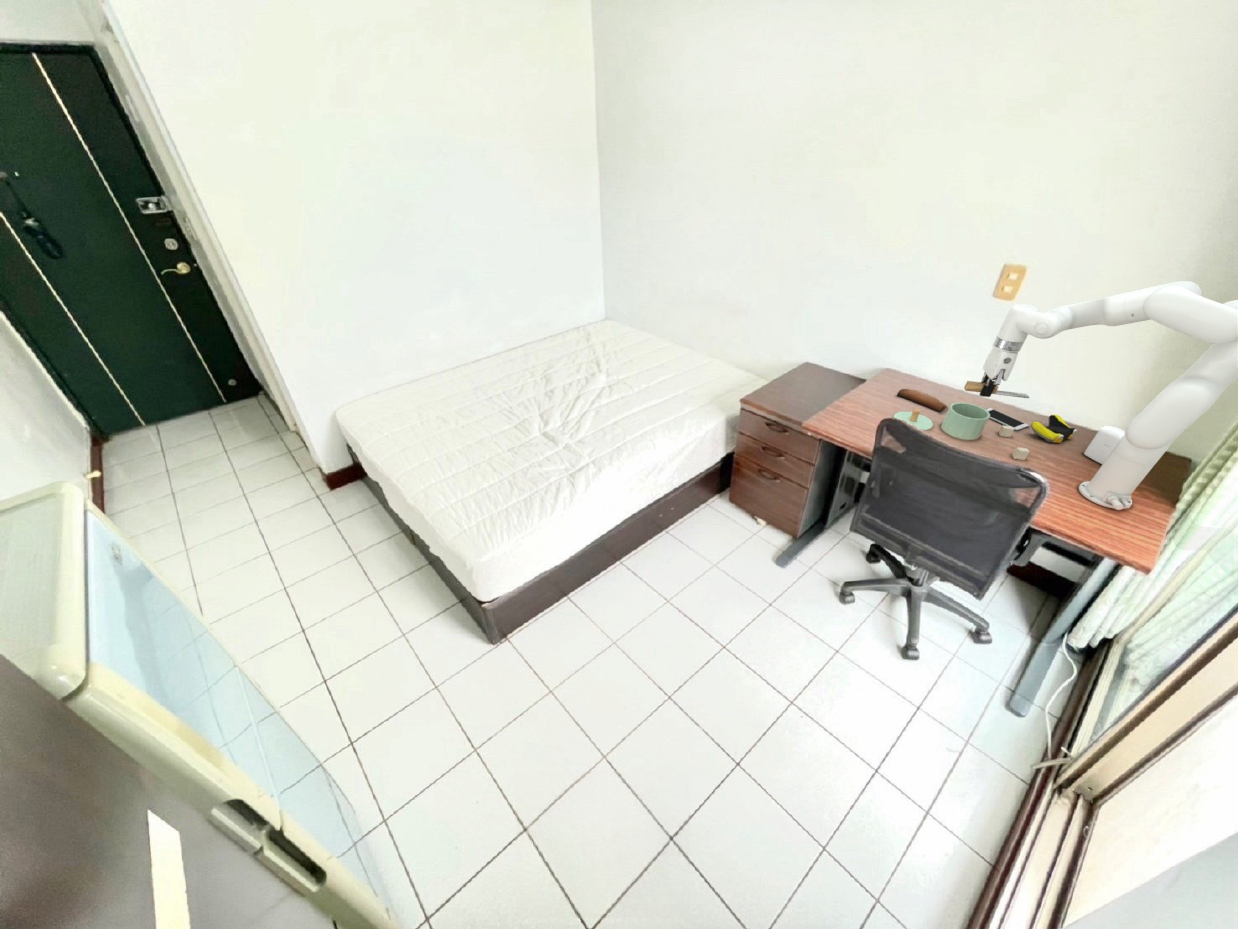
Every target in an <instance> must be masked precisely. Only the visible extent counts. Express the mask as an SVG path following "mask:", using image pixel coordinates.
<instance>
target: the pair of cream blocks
mask: <svg viewBox="0 0 1238 929" xmlns="http://www.w3.org/2000/svg"><path fill="white" fill-rule="evenodd" d="M1014 431H1015V430H1014V428H1013V427H1011V426H1005V425H1001V427H1000V429H999V432H998V435H999V437H1005V438H1011V436H1012V434H1013V433H1014ZM1029 454H1030V450H1029V448H1027V447H1026V448H1025V447H1019V446H1018V447H1016V448H1015V449H1014V451H1013V453H1012V455H1011V456H1012V457H1013V459H1014V460H1021V461H1025V460H1026V459H1027V457H1028V455H1029Z"/></svg>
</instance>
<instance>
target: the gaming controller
mask: <svg viewBox="0 0 1238 929" xmlns="http://www.w3.org/2000/svg"><path fill="white" fill-rule="evenodd" d="M1030 428H1031V430H1032V432H1034V434H1035V435H1037V436H1038V437H1041V438H1042V439H1044V441H1045V442H1047V443H1056V444H1057V443H1058V444H1061V443H1062V442H1065V441H1066V440H1070V439H1071V438H1072V436H1073V435H1074V433H1075V432H1077V431H1078V430H1077V429H1076V427H1075V428H1074V427H1071V426H1069V425H1068V424H1067V422H1066V421H1065V420H1064V419H1063V418H1062V417H1061V416H1060V415H1059V414H1050V415H1049V416H1048V426H1044V425H1043V424H1042V423H1041V422H1039V421H1032V422H1031V424H1030Z"/></svg>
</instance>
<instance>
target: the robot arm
mask: <svg viewBox="0 0 1238 929" xmlns="http://www.w3.org/2000/svg"><path fill="white" fill-rule="evenodd" d="M1202 295H1203V292H1202V289H1201V287H1200V286H1199V285H1198V284H1197V283H1196V282H1193V281H1190V280H1178V281H1177V280H1176V281H1172V282H1171V281H1170V282H1167V283H1163V284H1158V285H1154V286H1150V287H1145V288H1141V289H1136V290H1132V291H1127V292H1123V293H1117V294H1113V295H1107V296H1103V297H1100V298H1096V299H1095V298H1094V299H1090V300H1085V301H1080V302H1076V303H1070V304H1067V305H1062V306H1058V307H1055V308H1052V309H1049V310H1046V311H1042V312H1041V311H1040V309H1039V307H1037V306H1035V305H1033V304H1028V303H1016V304H1013V305H1012V306H1011V307H1010V308H1009V310H1008V312H1007V314H1006V316H1005V318H1004V320H1003V322H1002V324H1001V327H1000V329H999V330H998V333H997V335H996V337H995V339H994V342H993V344H992V348H991V350H990V352H989V353H988V355H987V357H986V358H985V361H984V363H983V366H982V370H983V371H984V373H983V376H982V378H981V381H980V382H982V383H986V385H984V386H983V388H982V390H981V392H979V397H985V398H990V397H991V396H992V395H993V394H992V392H993V390H994V388H995V387H996V386H997V385H998V386H1000V385H1001V382H1002V381H1004V382H1007V381H1008V379H1009V377H1010V375H1011V373H1012V370H1013V368H1014V365H1015V364H1016V361H1017V358H1018V355H1019V353H1020V351H1021V349H1023V348H1022V347H1023V346H1024V344H1025V342H1026V340H1027V338H1028V337H1029V336H1032V337H1034V338H1036V339H1041V340H1042V339H1043V340H1046V339H1051V338H1053V337H1055V336H1057V335H1058V334H1060V333H1062V332H1064V331H1068V330H1074V329H1078V328H1079V329H1080V328H1084V327H1090V326H1099V325H1101V326H1107V327H1119V326H1125V325H1130V324H1134V323H1139V322H1145V321H1150V320H1152V321H1154V322H1156V323H1157V324H1160V325H1162V326H1164V327H1166V328H1168V329H1171V330H1174V331H1176V332H1178V333H1181V334H1183V335H1186V336H1188V337H1191V338H1193V339H1196V340H1198V341H1200V342H1204V343H1207V344H1211V345H1210V346H1209V348H1208V349H1206V350H1205V352H1203V353H1202V354H1201V355H1200V356H1199V357H1198V358H1197V360H1196V361H1195V362H1194V363H1192V365H1190V367H1188V368H1187V370H1185V371H1184V372H1183V373H1182V374H1181V375H1180V376H1178V377H1177V378H1175V379H1174V380H1172V381H1171V382H1170V383H1169V384H1168V385H1166V386H1165V387H1164V388H1163V389H1162V390H1161V391H1160V392H1159V393H1158V394H1156V396H1155V397H1154V398H1153V399H1152V400H1151V401H1150V402H1149V403H1148V404H1147V405H1145V407H1144V408H1143V409H1142V410H1141V411H1140V412H1139V413H1138V414H1136V416H1134V418H1133V419H1132V420H1130V422H1129V423H1128V424H1127V425H1126V427H1125V430H1124V431H1125V434H1124V436H1123V437H1122V438H1121V440H1120V441H1119V442H1118V444H1117V445H1116V447H1115V448H1114V449H1113V451H1112V452H1111V453H1110V455H1109V456H1108V457H1107V459H1106V460H1105V462H1104V463H1103V464H1101V466H1100V468H1099V469H1098V470H1097V471H1096V472H1095V474H1094V475H1093V477H1092V478H1091V480H1089V481H1088V480H1087V481H1083V482H1081V483H1080V484H1079V485H1078V491H1079V493H1080V494H1081V495H1082V496H1083V497H1084V498H1086V499H1087V500H1088V501H1090V502H1092V503H1094V504H1096V505H1099V506H1101V507H1104V508H1108V509H1112V510H1113V509H1114V510H1115V511H1121V510H1127V509H1130V508H1131V506H1132V504H1133V500H1132V498H1133V497H1132V494H1133V493H1134V492H1135V490H1136V489H1138V488H1137V487H1138V486H1139V485H1140V484H1141V483H1142V481H1143V480H1144V479H1145V478H1146V477H1147V475H1148V474H1149V473H1150V472H1151V470H1152V469H1153V468H1154V466H1155V465H1156V464H1157V463H1158V461H1159V460H1160V459H1161V458H1162V457H1163V455H1164V454H1165V453H1166V452H1167V450H1168V449H1169V448H1170V447H1171V445H1173V443H1174V442H1175V441H1176V439H1178V437H1179V436H1180V435H1181V434H1184V432H1185V431H1186V430H1188V429H1189V428H1190V427H1191V426H1192V425H1193V424H1194V423H1195V422H1196V421H1197V420H1198V419H1200V418H1201V417H1202V416H1203V415H1204V414H1205V413H1206V412H1207V411H1209V410H1210V408H1211V407H1212V406H1213V405H1214V404H1215V403H1216V402H1217V401H1218V400H1219V398H1220V396H1221V395H1222V394H1223V393H1224V392H1225V391H1226V389H1227V388H1229V387H1230V385H1232V384H1233V383H1234V382H1236V380H1237V379H1238V299H1233V300H1229V301H1226V302H1223V303H1221V302H1218V301H1215V300H1212V299H1210V298H1207V297H1205V296H1202Z"/></svg>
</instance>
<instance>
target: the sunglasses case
mask: <svg viewBox="0 0 1238 929" xmlns="http://www.w3.org/2000/svg"><path fill="white" fill-rule="evenodd" d="M896 396H897V397H900V398H903V399H906V400H909V401H912V402H915V403H917V404H919V405H923V406H925V407H927V408H930V409H933V410H935V411H937V412H939V413H942V412H943V411H945V410H946V409H947V408H948V405H947V404H945V403H944V402H942V401H940V400H939V399H938V398H936V397H935V396H932V395H930V394H928V393H925V392H921V391H919V390H916V389H910V388H901V389H900V390H899V391H898V392H897V394H896Z"/></svg>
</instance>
